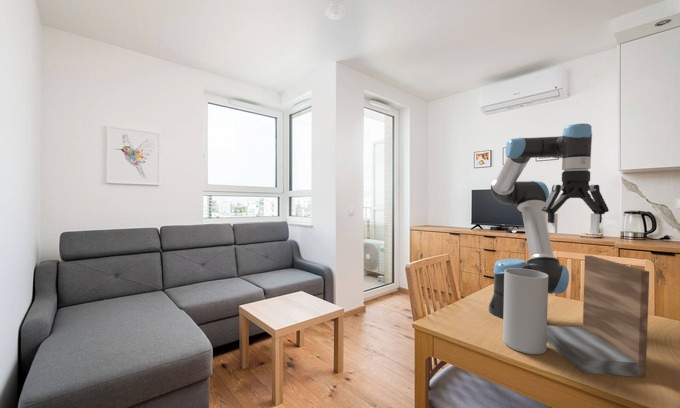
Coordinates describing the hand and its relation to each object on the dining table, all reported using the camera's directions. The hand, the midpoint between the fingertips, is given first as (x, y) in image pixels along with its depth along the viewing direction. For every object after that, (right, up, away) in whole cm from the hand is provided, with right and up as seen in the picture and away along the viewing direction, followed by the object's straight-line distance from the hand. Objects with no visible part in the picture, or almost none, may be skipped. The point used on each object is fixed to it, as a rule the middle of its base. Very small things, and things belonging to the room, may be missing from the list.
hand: (573, 232), depth 99 cm
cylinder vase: (-17, -39, -1) cm, 42 cm away
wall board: (-1, -39, -6) cm, 39 cm away
